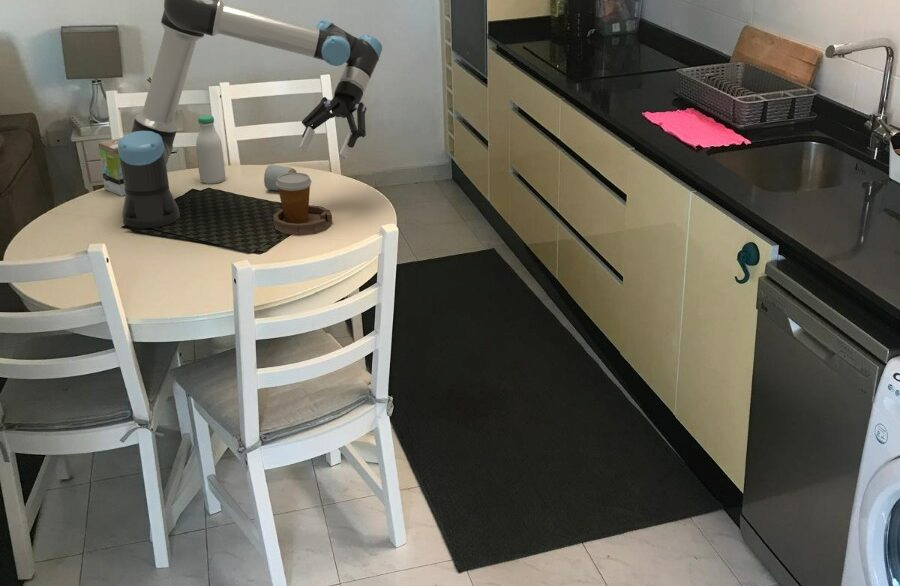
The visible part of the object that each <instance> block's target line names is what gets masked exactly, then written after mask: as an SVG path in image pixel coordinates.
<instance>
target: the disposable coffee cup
mask: <svg viewBox="0 0 900 586" xmlns="http://www.w3.org/2000/svg"><path fill="white" fill-rule="evenodd" d="M276 185H277V187H278V190H279V191H278V194H279V199H280V204H281V209H283V214H284V219H285V221H286V222H288V223H302V222H305V221H307V220H308V208H309V205H310V191H311V185H312V179H311V177H310V175H309V174H308V173H303V172H297V173H286V174H282V175H280V176H279V177H278V178H277V181H276Z"/></svg>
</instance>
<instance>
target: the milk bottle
mask: <svg viewBox="0 0 900 586" xmlns="http://www.w3.org/2000/svg"><path fill="white" fill-rule="evenodd" d="M197 121H198V125H199V132H198V135H197V136H196V137H197V138H196V145H195V146H196V148H195V149H196V157H197V166H198V174H199V181H200V182H201V183H202V184H210V185H212V184H219V183H221V182H225V180H226V170H225V169H226V168H225V167H226V166H225V159H224V152H223V150H224V149H223V146H222V145H223V143H222V140H221V138H220V136H219V134H218V132H217V130H216V127H215V126H214V125H215V118H214V115H209V114H207V115H205V114H204V115H200V116H199V117H198V119H197Z"/></svg>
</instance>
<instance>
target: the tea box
mask: <svg viewBox="0 0 900 586" xmlns="http://www.w3.org/2000/svg"><path fill="white" fill-rule="evenodd" d="M121 138H122V137H118V138H115V139H110V140H104V141H101V142H98V150H99V151H98V152H99V156H100V157H99V158H100V164H101V165H100V166H101V171H102V173H101V174H102V177H103V186H104V190H107V191H109V192H111V193H113V194H116V195H119V196H121V197H122V196H126V194H125V187H124V181H123V175H122V168H121V162H120V157H119V154H118V143H119V140H120V139H121Z"/></svg>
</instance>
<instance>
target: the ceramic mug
mask: <svg viewBox="0 0 900 586" xmlns="http://www.w3.org/2000/svg"><path fill="white" fill-rule="evenodd" d="M286 173H298V172H297V171H296V169H295V168H293V167H289V166H284V165H277V164H273V163H270V164H268V165H267V167H266V168H265V171H264V173H263V174H264V175H263V179H264V180H263V183H264V187H265V189H267V190H268V191H278V192H279V190H278V187H277V185H276V181H277V178H278V177H279V176H280V175H282V174H286Z"/></svg>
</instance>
